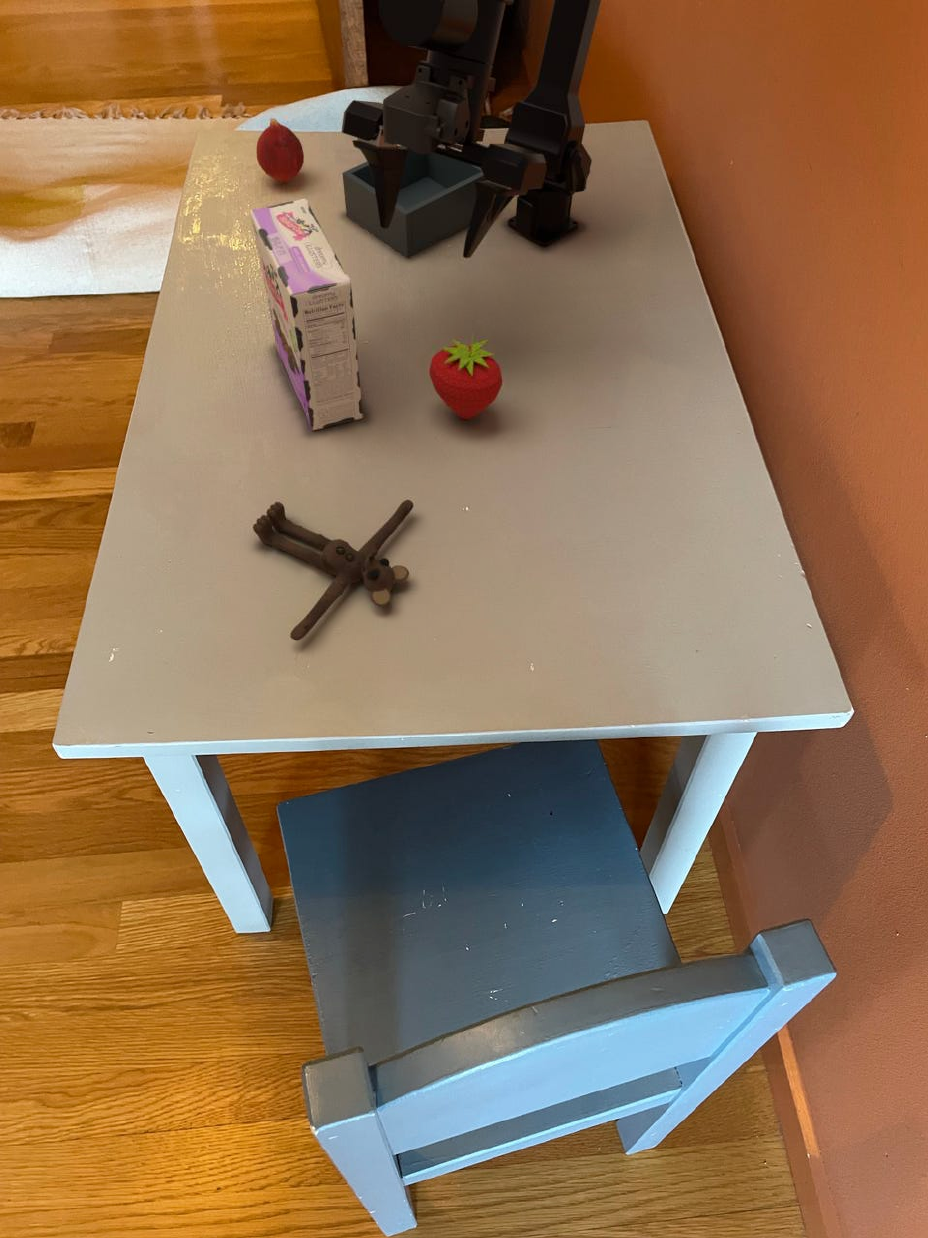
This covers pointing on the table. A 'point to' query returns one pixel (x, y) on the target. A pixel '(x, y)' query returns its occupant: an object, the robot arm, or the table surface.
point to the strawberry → (466, 378)
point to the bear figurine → (337, 560)
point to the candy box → (310, 312)
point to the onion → (279, 152)
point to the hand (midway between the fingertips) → (425, 242)
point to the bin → (416, 201)
